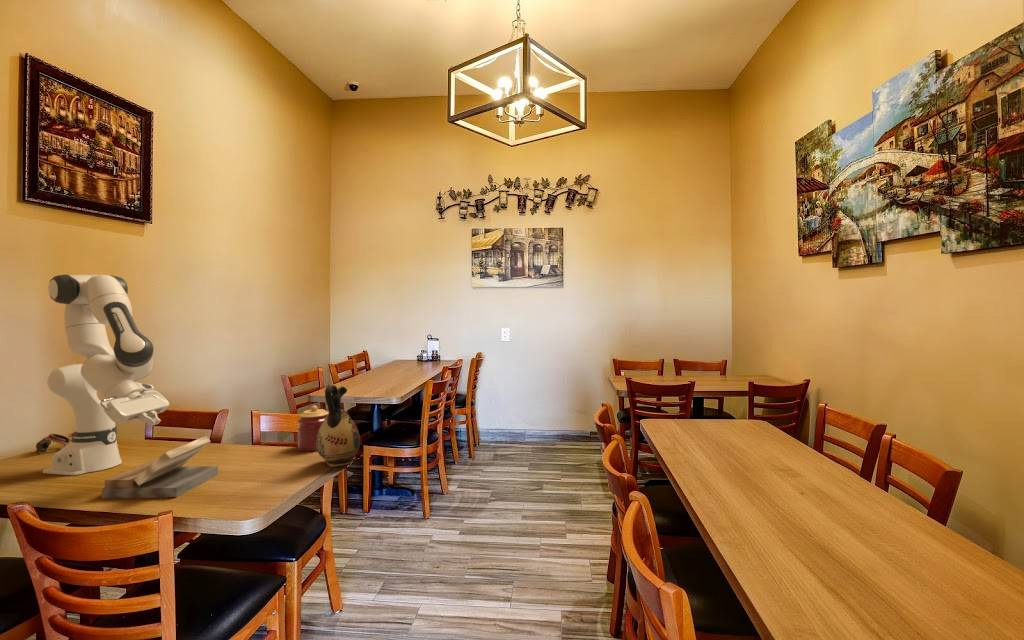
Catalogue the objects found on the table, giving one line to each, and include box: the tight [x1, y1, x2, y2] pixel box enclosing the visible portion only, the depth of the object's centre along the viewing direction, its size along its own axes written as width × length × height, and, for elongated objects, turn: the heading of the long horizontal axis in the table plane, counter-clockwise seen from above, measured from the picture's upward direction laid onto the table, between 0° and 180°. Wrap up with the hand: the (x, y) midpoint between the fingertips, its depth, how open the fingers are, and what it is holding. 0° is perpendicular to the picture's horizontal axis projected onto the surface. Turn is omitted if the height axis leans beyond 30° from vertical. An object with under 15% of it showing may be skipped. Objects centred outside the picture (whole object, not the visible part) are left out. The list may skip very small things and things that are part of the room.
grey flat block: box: [101, 459, 219, 499], centre depth 152 cm, size 23×20×6 cm
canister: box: [297, 405, 329, 452], centre depth 194 cm, size 13×13×18 cm
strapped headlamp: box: [35, 433, 71, 455], centre depth 192 cm, size 12×10×8 cm
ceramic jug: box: [316, 384, 361, 468], centre depth 172 cm, size 17×15×30 cm
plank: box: [134, 435, 211, 486], centre depth 152 cm, size 13×19×2 cm
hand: (156, 423), depth 151 cm, fingers closed
